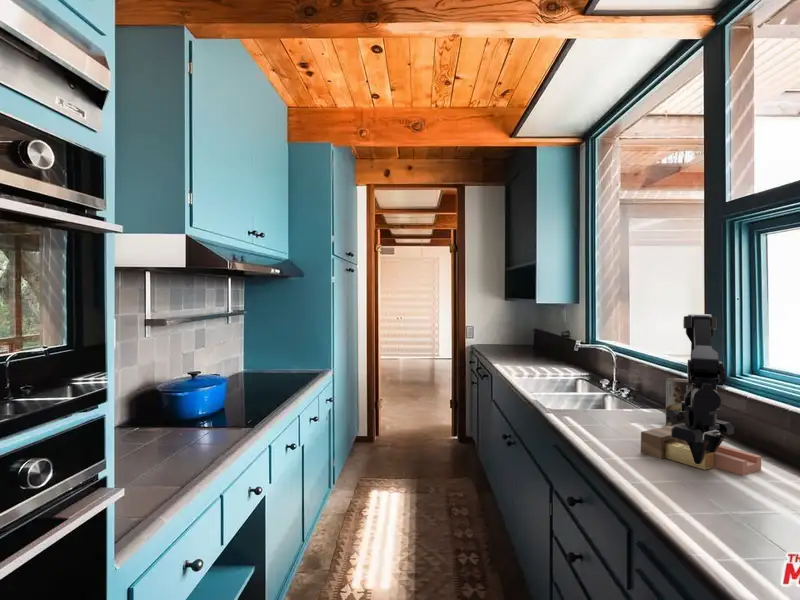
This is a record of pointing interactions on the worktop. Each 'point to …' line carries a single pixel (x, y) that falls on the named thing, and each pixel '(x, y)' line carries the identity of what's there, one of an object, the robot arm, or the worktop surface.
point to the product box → (675, 395)
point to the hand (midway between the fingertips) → (702, 462)
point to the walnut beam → (657, 441)
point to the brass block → (686, 455)
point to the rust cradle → (736, 460)
